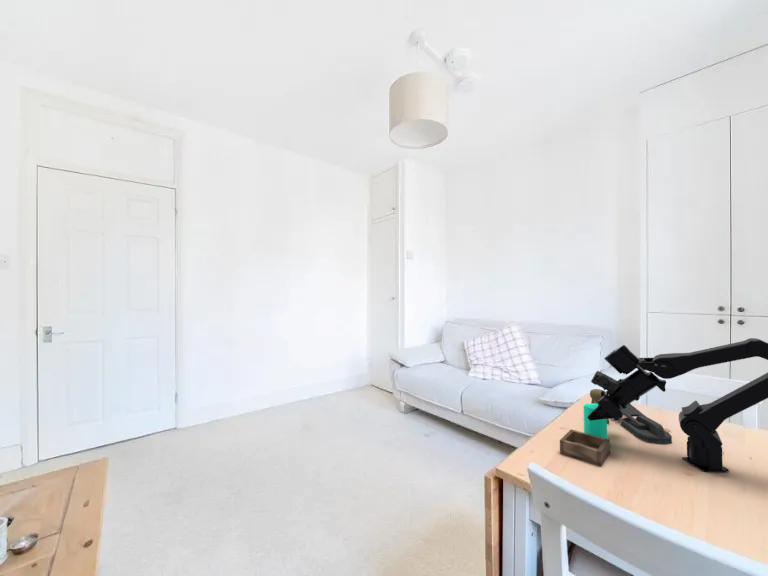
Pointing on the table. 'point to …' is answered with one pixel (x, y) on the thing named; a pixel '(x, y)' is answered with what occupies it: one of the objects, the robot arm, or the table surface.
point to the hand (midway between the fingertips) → (589, 415)
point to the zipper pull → (644, 427)
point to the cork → (596, 397)
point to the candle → (594, 422)
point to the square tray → (585, 447)
